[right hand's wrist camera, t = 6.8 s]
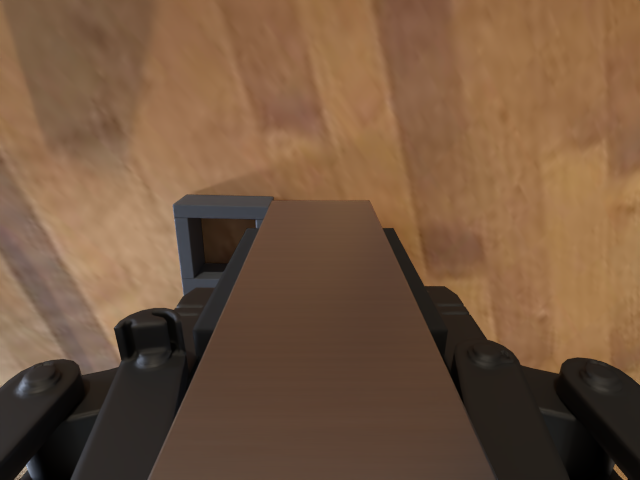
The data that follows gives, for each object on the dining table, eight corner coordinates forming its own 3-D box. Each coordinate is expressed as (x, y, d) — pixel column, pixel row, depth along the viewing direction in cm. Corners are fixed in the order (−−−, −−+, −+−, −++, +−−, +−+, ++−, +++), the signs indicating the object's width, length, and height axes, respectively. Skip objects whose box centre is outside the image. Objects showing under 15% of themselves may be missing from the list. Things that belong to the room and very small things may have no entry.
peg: (275, 287, 17) (187, 674, 6) (271, 200, 15) (141, 487, 4) (365, 287, 17) (456, 674, 6) (370, 200, 15) (503, 487, 4)
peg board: (278, 427, 39) (263, 545, 29) (211, 425, 39) (171, 543, 29) (273, 196, 30) (248, 248, 20) (186, 194, 30) (116, 245, 20)
